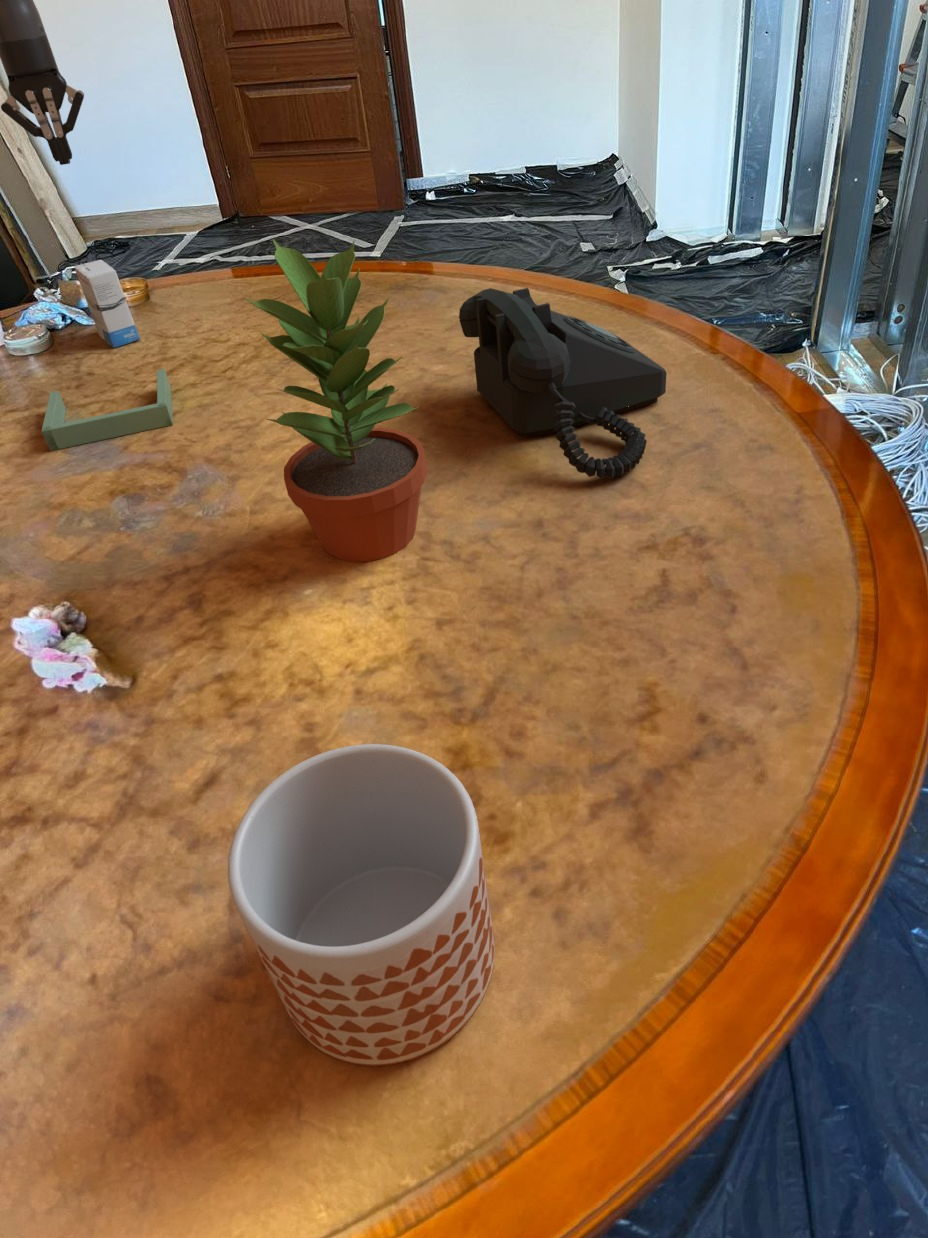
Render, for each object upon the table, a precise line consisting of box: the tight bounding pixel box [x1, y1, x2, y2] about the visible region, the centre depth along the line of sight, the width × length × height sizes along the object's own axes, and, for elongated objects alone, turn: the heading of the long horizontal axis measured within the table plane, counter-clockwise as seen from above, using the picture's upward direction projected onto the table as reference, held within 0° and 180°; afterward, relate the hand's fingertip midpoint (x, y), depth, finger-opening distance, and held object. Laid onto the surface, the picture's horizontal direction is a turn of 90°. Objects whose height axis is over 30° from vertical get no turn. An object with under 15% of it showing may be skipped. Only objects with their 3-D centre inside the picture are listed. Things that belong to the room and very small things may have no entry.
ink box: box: [73, 259, 141, 349], centre depth 142 cm, size 8×5×12 cm, turn 34°
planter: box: [227, 743, 496, 1067], centre depth 50 cm, size 14×14×13 cm
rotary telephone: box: [458, 287, 667, 479], centre depth 103 cm, size 33×22×15 cm, turn 20°
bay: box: [40, 368, 174, 452], centre depth 120 cm, size 13×16×3 cm
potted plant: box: [243, 237, 429, 563], centre depth 82 cm, size 15×15×30 cm
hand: (65, 163), depth 139 cm, fingers closed
